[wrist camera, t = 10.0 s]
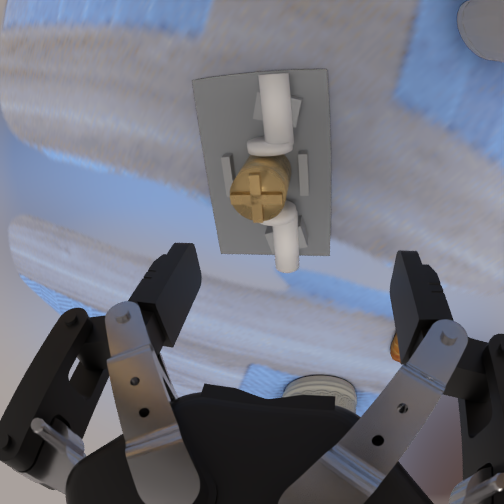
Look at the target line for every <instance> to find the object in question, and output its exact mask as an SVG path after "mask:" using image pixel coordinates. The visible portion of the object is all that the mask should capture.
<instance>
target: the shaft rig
mask: <svg viewBox="0 0 504 504" xmlns="http://www.w3.org/2000/svg"><path fill="white" fill-rule="evenodd" d="M192 85H193V92H194V98H195V105H196V111H197V118H198V124H199V130H200V137H201V143H202V149H203V155H204V161H205V167H206V173H207V179H208V185H209V190H210V196H211V202H212V207H213V213H214V219H215V224H216V229H217V235H218V240H219V246H220V251H221V254H258V255H275V264H276V269H277V270H278V271H280V272H283V273H291V272H294V271H296V270H297V269H298V268H299V255H308V256H330V226H331V143H330V113H329V93H328V76H327V69H301V70H279V71H264V72H252V73H242V74H233V75H225V76H217V77H210V78H203V79H197V80H192ZM282 154H284V155H285V156H286V157H287V159H288V160H289V162H290V165H291V178H290V182H289V187H288V192H287V196H286V201H285V205H284V207H283V209H282V211H281V212H280V213H279V214H278V215H277V216H276V217H274V218H272V219H270V220H267V221H264V222H263V223H253V220H249V219H247V218H245V217H243V216H242V215H240V214H239V213H238V212H237V211H236V210H235V208H234V207H233V205H231V200H230V187H231V185H232V183H233V181H234V179H235V178H236V176H237V175H238V173H239V171H240V170H241V168H242V167H243V165H244V164H245V162H246V161H247V159H248V157H249V156H250V155H255V156H276V155H282Z"/></svg>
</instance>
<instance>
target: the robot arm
mask: <svg viewBox="0 0 504 504" xmlns="http://www.w3.org/2000/svg"><path fill="white" fill-rule="evenodd" d="M201 278H202V277H201V270H200V266H199V262H198V258H197V253H196V249H195V246H194V244H193V243H174V244H173V246H172V247H171V249H170V250H169V252H168V253H167V255H166V254H163V255H162V256H160V257H159V258H158V259H156V260H155V261H154V262H153V264H152V265H151V267H150V268H149V270H148V272H147V273H146V274H145V276H144V279H142V280H141V282H140V283H139V285H138V286H137V288H136V289H135V291H134V292H133V294H132V296H131V297H130V299H129V300H128V301H126V302H121V303H118V304H116V305H114V306H113V307H112V308H111V309H109V311H108V312H107V314H106V316H98V317H90V318H89V316H88V314H87V312H86V311H85V310H84V309H82V308H73V309H70V310H68V311H66V312H65V313H64V314H62V315H61V317H60V318H59V319H58V321H57V323H56V324H55V326H54V327H53V329H52V330H51V332H50V334H49V335H48V336H47V338H46V340H45V341H44V343H43V345H42V346H41V348H40V350H39V351H38V353H37V354H36V356H35V358H34V359H33V361H32V363H31V365H30V366H29V368H28V370H27V371H26V373H25V375H24V377H23V378H22V380H21V382H20V384H19V386H18V388H17V390H16V391H15V393H14V395H13V397H12V399H11V401H10V403H9V405H8V406H7V409H6V410H5V412H4V415H3V416H2V418H1V420H0V461H2V462H4V463H5V464H7V465H8V466H10V467H12V469H13V470H15V471H16V472H18V473H20V474H21V475H23V476H25V477H26V478H28V479H30V480H32V481H34V482H36V483H39V484H41V485H43V486H45V487H47V488H48V489H51V490H58V491H60V492H62V493H64V494H66V502H67V504H433V502H432V501H431V500H430V499H429V498H428V496H427V495H426V494H425V493H424V492H423V491H422V489H421V488H420V487H419V486H418V485H417V483H416V482H415V481H414V480H413V478H412V477H411V476H410V475H409V474H408V472H407V471H406V470H405V469H404V468H403V466H402V465H401V464H400V463H399V462H398V460H399V459H400V458H401V456H402V455H403V453H404V452H405V451H406V450H407V448H408V447H409V445H410V444H411V442H412V441H413V440H414V438H415V437H416V435H417V434H418V432H419V431H420V429H421V428H422V426H423V425H424V423H425V422H426V420H427V419H428V417H429V415H430V414H431V412H432V411H433V409H434V407H435V406H436V404H437V402H438V401H439V399H440V397H441V396H442V394H444V395H448V396H452V397H457V398H458V402H459V412H460V423H461V436H462V454H463V455H462V456H463V481H462V482H460V483H459V484H458V485H457V486H456V487H455V488H454V490H453V492H452V493H451V496H450V500H449V504H504V334H497V335H494V336H493V337H492V338H491V339H490V341H489V343H487V342H483V341H479V340H475V339H472V338H469V337H468V336H467V333H466V331H465V329H464V328H463V327H462V326H461V325H460V324H459V323H457V322H455V321H453V318H452V315H451V312H450V309H449V306H448V303H447V300H446V297H445V294H444V293H443V289H442V286H441V285H440V281H439V278H438V275H437V273H436V272H435V271H434V270H433V269H432V268H431V267H430V266H429V265H423V264H422V263H421V260H420V257H419V255H418V252H417V251H398V252H397V255H396V260H395V265H394V269H393V274H392V279H391V284H390V299H391V304H392V309H393V315H394V321H395V327H396V333H397V340H398V347H399V354H400V362H401V364H403V365H402V367H401V368H400V369H399V370H398V372H397V373H396V374H395V376H394V377H393V378H392V380H391V381H390V382H389V384H388V385H387V386H386V388H385V389H384V390H383V391H382V393H381V394H380V395H379V396H378V398H377V399H376V400H375V401H374V402H373V404H372V405H371V406H370V407H369V408H368V410H367V411H366V412H365V413H364V414H363V415H362V417H359V416H358V415H357V414H355V413H354V412H352V411H350V410H348V409H345V408H343V407H340V406H337V405H335V396H320V395H296V396H289V397H282V398H275V399H264V398H261V397H258V396H256V395H253V394H250V393H247V392H244V391H242V390H239V389H236V388H231V387H224V386H217V385H210V384H204V387H203V390H202V392H199V393H193V394H188V395H185V396H182V397H180V398H178V396H177V394H176V392H175V389H174V387H173V384H172V382H171V379H170V377H169V374H168V371H167V369H166V366H165V363H164V361H163V358H162V355H161V353H160V351H161V349H162V346H167V347H174V344H175V342H176V340H177V338H178V335H179V333H180V331H181V329H182V326H183V324H184V322H185V320H186V317H187V315H188V313H189V311H190V309H191V306H192V304H193V302H194V300H195V298H196V295H197V293H198V291H199V289H200V286H201ZM76 357H77V358H78V359H79V360H80V362H79V364H78V365H77V367H76V370H75V371H74V373H73V375H72V377H71V379H70V381H69V379H68V374H69V371H70V369H71V367H72V365H73V363H74V361H75V359H76ZM109 376H110V381H111V386H112V390H113V395H114V399H115V404H116V408H117V412H118V416H119V420H120V424H121V428H122V431H123V434H122V435H120V436H119V437H117V438H115V439H114V440H112V441H111V442H109V443H108V444H106V445H104V446H103V447H101V448H99V449H98V450H96V451H95V452H93V453H91V454H90V455H88V456H86V455H85V453H84V443H83V441H82V438H83V436H84V434H85V431H86V429H87V426H88V424H89V421H90V419H91V417H92V414H93V412H94V409H95V407H96V405H97V402H98V400H99V398H100V396H101V393H102V391H103V389H104V386H105V384H106V382H107V380H108V378H109Z"/></svg>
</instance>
